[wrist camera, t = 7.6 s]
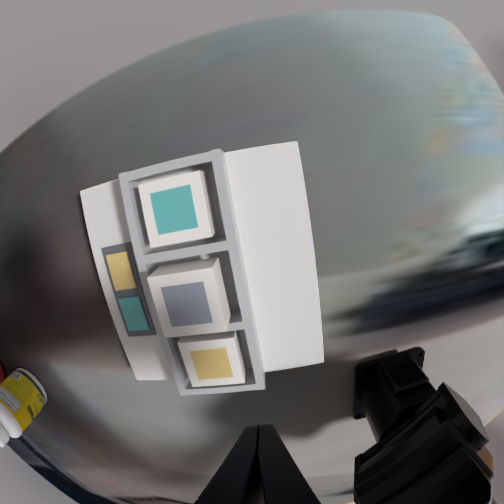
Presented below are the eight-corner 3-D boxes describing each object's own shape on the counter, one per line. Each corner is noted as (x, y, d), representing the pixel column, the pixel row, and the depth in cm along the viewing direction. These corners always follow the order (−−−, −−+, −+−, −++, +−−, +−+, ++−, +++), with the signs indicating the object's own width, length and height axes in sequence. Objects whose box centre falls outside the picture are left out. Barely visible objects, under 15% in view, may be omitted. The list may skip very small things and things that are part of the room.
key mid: (230, 314, 16) (227, 331, 14) (174, 321, 16) (164, 337, 14) (218, 256, 15) (212, 267, 13) (159, 266, 15) (146, 277, 13)
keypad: (318, 347, 20) (329, 378, 16) (145, 366, 21) (128, 395, 17) (293, 145, 17) (302, 135, 13) (94, 189, 18) (63, 192, 14)
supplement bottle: (45, 409, 24) (8, 457, 14) (14, 380, 23) (-27, 423, 14) (52, 390, 23) (8, 444, 13) (18, 358, 22) (-31, 403, 13)
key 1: (217, 230, 16) (212, 237, 14) (162, 240, 17) (150, 248, 15) (206, 171, 16) (199, 170, 14) (151, 184, 16) (137, 184, 14)
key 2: (246, 364, 18) (244, 383, 16) (198, 369, 19) (192, 387, 17) (236, 321, 18) (233, 337, 16) (185, 327, 18) (177, 343, 16)
